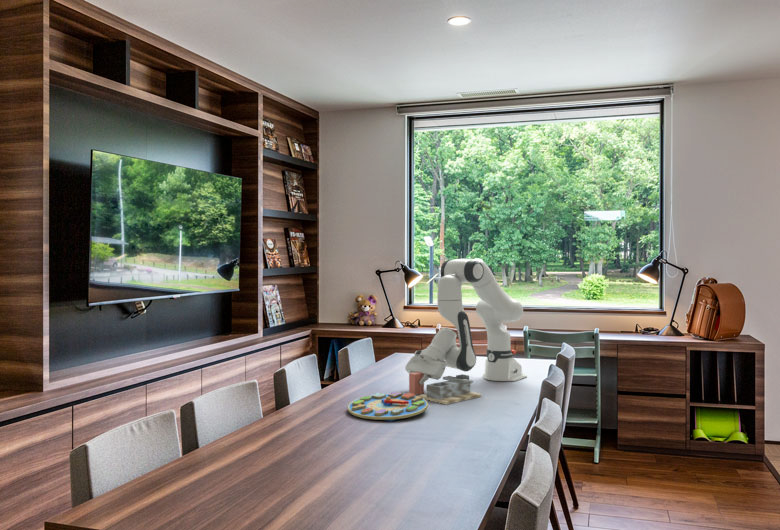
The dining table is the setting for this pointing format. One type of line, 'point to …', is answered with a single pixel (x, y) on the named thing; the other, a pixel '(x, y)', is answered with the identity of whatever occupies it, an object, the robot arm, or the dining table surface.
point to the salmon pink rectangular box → (415, 383)
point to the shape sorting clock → (388, 406)
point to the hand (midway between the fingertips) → (415, 383)
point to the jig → (450, 390)
